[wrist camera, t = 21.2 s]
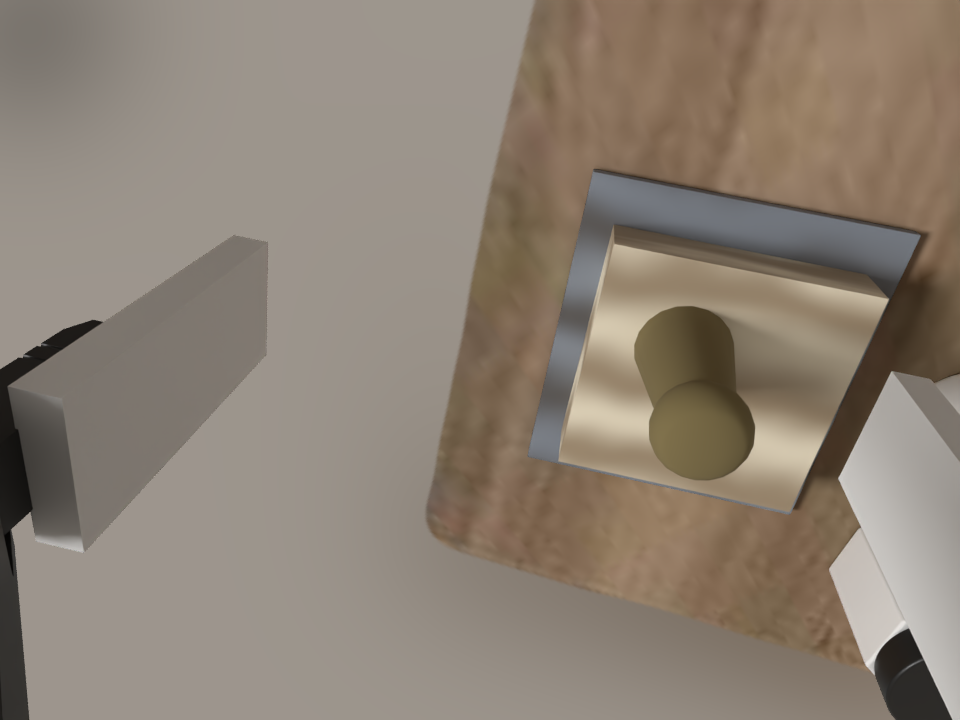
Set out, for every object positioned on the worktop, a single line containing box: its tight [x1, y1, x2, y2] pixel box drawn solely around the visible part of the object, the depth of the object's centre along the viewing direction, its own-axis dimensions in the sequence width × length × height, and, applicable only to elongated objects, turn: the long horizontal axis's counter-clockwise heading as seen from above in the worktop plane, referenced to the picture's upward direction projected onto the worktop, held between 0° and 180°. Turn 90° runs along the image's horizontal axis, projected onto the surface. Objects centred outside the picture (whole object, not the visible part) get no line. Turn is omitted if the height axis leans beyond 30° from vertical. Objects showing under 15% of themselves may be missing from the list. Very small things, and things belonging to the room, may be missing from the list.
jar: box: [829, 528, 952, 720], centre depth 50 cm, size 9×8×12 cm
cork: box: [634, 306, 755, 481], centre depth 40 cm, size 6×6×11 cm
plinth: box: [528, 169, 921, 515], centre depth 48 cm, size 22×20×5 cm
